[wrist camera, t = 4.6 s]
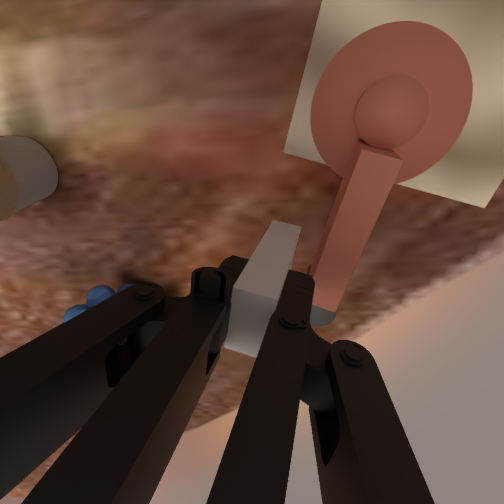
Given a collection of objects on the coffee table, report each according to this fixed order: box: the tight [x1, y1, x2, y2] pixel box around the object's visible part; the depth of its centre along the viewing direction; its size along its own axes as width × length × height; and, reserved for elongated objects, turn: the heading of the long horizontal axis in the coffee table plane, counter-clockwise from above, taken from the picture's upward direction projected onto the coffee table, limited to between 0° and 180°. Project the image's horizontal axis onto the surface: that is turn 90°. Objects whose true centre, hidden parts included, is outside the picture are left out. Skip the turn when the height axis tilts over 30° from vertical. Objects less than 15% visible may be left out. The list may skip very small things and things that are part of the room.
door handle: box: [307, 21, 473, 326], centre depth 15 cm, size 14×7×6 cm, turn 168°
